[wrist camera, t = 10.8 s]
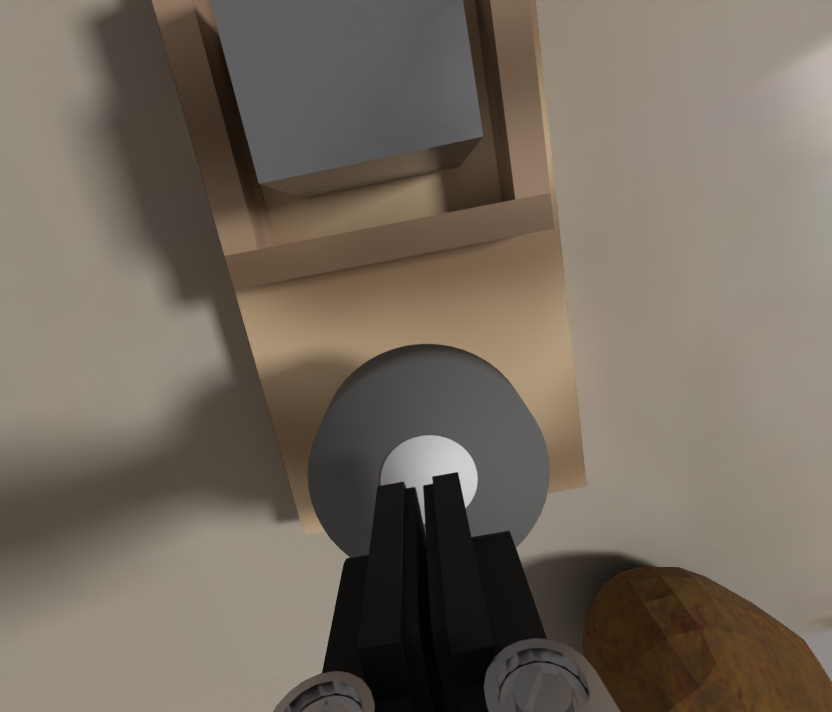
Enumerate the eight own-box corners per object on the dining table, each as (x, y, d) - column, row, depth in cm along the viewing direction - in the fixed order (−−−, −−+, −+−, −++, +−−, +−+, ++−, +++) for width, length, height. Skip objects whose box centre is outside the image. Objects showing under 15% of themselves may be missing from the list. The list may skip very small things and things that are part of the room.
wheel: (299, 365, 13) (279, 389, 11) (515, 325, 13) (534, 342, 11) (347, 550, 15) (337, 600, 13) (541, 517, 14) (562, 562, 12)
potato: (642, 490, 20) (783, 646, 12) (822, 643, 22) (1035, 855, 15) (509, 613, 21) (563, 819, 14) (691, 746, 24) (822, 986, 16)
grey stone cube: (263, 24, 14) (187, -85, 9) (430, -14, 14) (441, -145, 9) (306, 198, 15) (259, 184, 10) (459, 166, 15) (483, 136, 10)
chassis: (158, -44, 15) (84, -124, 11) (507, -119, 14) (537, -226, 11) (311, 512, 20) (292, 571, 16) (573, 467, 20) (608, 517, 16)
